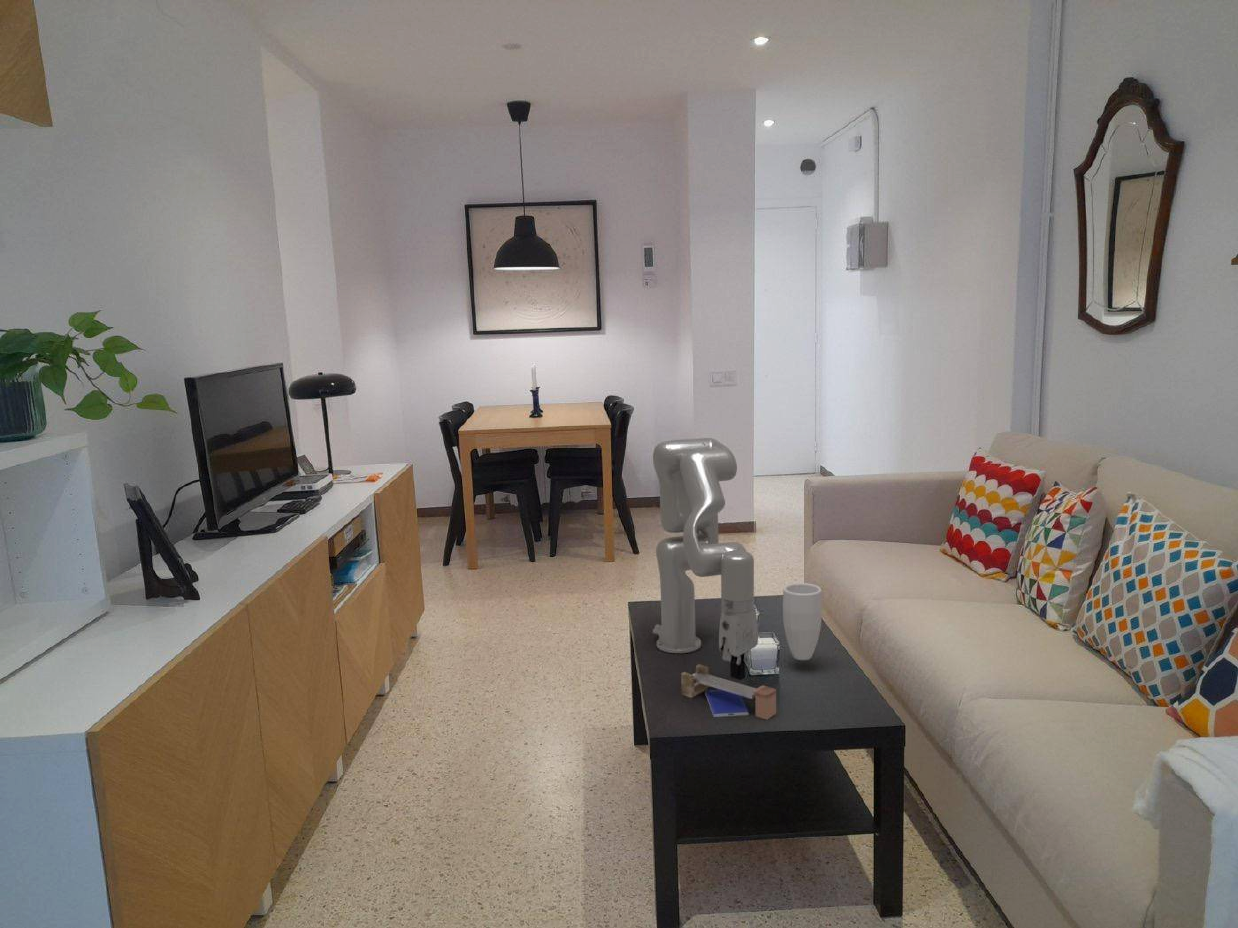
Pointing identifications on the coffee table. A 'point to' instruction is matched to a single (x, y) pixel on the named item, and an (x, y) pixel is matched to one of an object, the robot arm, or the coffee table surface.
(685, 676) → the pivot bracket
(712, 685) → the grey long flat bar
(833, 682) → the coffee table surface
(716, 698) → the hard drive
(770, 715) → the block
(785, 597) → the cup
